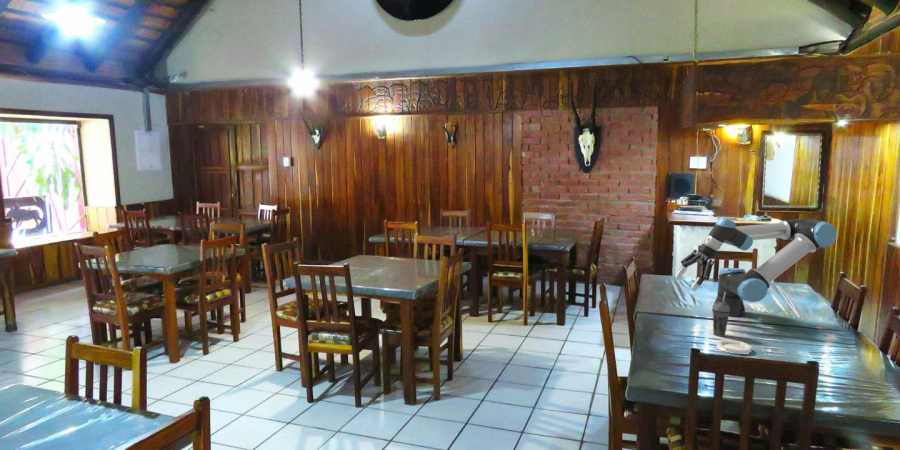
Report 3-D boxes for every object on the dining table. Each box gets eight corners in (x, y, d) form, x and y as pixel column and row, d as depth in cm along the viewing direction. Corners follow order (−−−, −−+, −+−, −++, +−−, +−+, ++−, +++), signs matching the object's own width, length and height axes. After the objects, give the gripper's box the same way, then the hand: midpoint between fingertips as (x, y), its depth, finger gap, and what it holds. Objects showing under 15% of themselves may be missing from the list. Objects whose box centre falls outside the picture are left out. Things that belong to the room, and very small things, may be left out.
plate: (744, 344, 237) (744, 340, 237) (756, 356, 225) (757, 351, 224) (712, 343, 239) (712, 338, 239) (722, 354, 226) (723, 349, 226)
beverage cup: (706, 332, 253) (710, 289, 250) (722, 332, 253) (725, 289, 251) (715, 337, 246) (719, 294, 243) (731, 337, 246) (735, 293, 243)
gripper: (689, 235, 276) (665, 270, 281) (720, 253, 253) (694, 291, 257) (700, 241, 279) (676, 276, 283) (732, 259, 255) (706, 297, 260)
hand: (685, 283), depth 270 cm, fingers open, 13 cm apart
